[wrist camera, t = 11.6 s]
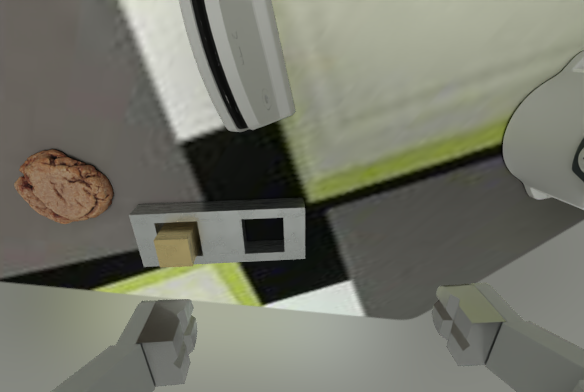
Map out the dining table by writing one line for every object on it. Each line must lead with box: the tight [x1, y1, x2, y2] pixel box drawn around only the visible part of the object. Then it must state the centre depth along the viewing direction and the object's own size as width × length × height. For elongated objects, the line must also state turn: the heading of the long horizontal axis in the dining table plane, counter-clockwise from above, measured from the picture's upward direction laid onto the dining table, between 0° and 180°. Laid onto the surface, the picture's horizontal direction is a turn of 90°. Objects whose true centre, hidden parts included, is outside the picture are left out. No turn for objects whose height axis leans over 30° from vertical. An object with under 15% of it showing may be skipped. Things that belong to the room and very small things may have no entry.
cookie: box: [14, 149, 114, 224], centre depth 37 cm, size 10×11×3 cm
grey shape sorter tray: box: [129, 197, 305, 267], centre depth 40 cm, size 22×8×3 cm, turn 91°
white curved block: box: [179, 0, 296, 132], centre depth 29 cm, size 17×5×10 cm, turn 13°
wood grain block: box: [153, 221, 201, 267], centre depth 39 cm, size 4×4×6 cm
